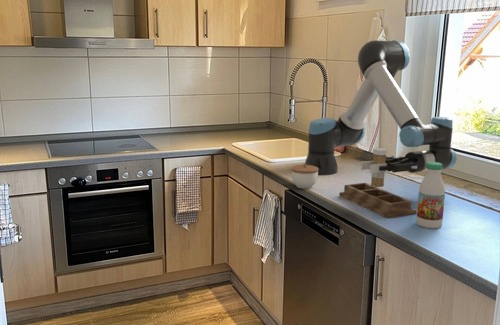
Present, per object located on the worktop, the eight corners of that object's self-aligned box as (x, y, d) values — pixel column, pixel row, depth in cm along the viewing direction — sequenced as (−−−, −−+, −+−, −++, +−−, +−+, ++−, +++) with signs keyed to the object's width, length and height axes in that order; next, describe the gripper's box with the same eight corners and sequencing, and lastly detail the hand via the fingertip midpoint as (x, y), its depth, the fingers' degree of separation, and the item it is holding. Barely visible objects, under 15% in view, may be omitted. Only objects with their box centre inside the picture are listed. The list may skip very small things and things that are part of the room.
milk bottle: (412, 220, 160) (417, 160, 156) (435, 220, 161) (441, 160, 156) (421, 229, 153) (427, 166, 148) (446, 229, 153) (452, 166, 149)
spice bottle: (369, 184, 178) (371, 147, 175) (381, 183, 178) (383, 147, 175) (373, 187, 173) (375, 149, 170) (386, 187, 174) (388, 149, 171)
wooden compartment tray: (339, 195, 187) (339, 184, 186) (365, 192, 192) (366, 181, 191) (387, 218, 162) (388, 206, 161) (416, 213, 167) (417, 201, 166)
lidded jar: (300, 181, 207) (301, 159, 204) (322, 186, 200) (323, 163, 198) (285, 187, 198) (286, 164, 196) (308, 191, 192) (309, 168, 190)
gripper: (435, 176, 174) (381, 183, 165) (401, 166, 190) (350, 172, 180) (437, 156, 173) (382, 161, 163) (403, 147, 188) (351, 152, 179)
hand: (366, 167), depth 172 cm, fingers closed on spice bottle, 4 cm apart
